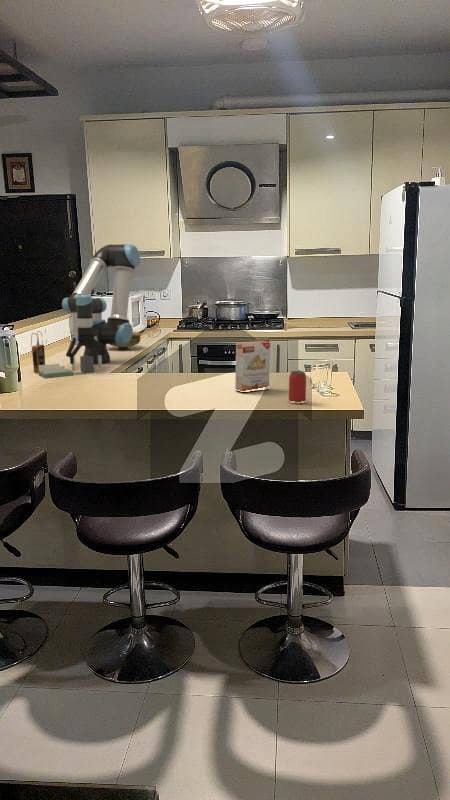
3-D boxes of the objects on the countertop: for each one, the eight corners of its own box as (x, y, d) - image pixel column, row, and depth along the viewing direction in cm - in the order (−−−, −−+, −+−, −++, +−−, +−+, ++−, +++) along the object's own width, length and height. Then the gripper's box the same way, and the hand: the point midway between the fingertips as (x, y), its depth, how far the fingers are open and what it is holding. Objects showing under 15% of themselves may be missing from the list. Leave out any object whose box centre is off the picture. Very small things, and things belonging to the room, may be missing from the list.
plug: (90, 371, 311) (89, 355, 310) (94, 372, 307) (93, 356, 306) (80, 372, 309) (80, 356, 307) (84, 373, 305) (83, 357, 303)
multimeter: (48, 374, 303) (46, 333, 298) (30, 373, 305) (27, 333, 300) (62, 369, 317) (59, 330, 313) (44, 368, 319) (41, 330, 314)
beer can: (287, 400, 243) (287, 370, 241) (303, 400, 244) (304, 370, 241) (290, 404, 237) (291, 373, 234) (307, 404, 237) (308, 373, 235)
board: (66, 372, 307) (66, 362, 306) (73, 375, 300) (72, 365, 298) (39, 375, 299) (38, 365, 298) (44, 378, 292) (44, 367, 291)
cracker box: (242, 393, 256) (242, 343, 252) (234, 391, 261) (235, 342, 257) (270, 390, 264) (270, 341, 259) (261, 388, 269) (262, 340, 264)
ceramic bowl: (151, 350, 387) (151, 334, 384) (117, 353, 373) (116, 337, 370) (128, 345, 410) (128, 330, 408) (95, 348, 396) (95, 332, 394)
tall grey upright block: (80, 347, 401) (78, 303, 395) (73, 344, 414) (71, 302, 408) (108, 345, 411) (106, 302, 405) (100, 342, 423) (99, 301, 417)
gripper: (105, 325, 313) (107, 366, 317) (57, 327, 299) (60, 370, 304) (111, 326, 307) (113, 368, 311) (63, 328, 293) (65, 372, 298)
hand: (87, 369), depth 308 cm, fingers open, 13 cm apart
